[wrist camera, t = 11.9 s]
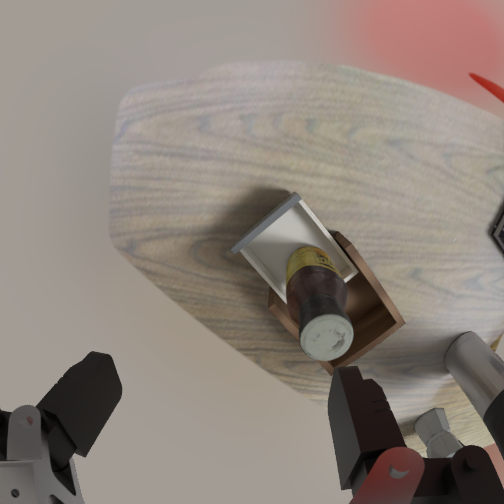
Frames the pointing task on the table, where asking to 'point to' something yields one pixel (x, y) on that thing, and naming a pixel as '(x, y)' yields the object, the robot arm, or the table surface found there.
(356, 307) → the caddy
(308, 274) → the sauce bottle
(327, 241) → the tray
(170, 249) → the table surface
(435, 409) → the coffee maker
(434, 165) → the table surface
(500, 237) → the radio
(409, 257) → the table surface
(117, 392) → the robot arm
